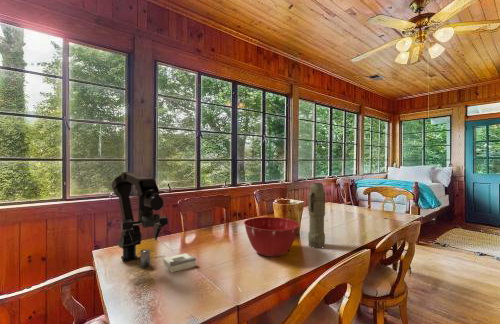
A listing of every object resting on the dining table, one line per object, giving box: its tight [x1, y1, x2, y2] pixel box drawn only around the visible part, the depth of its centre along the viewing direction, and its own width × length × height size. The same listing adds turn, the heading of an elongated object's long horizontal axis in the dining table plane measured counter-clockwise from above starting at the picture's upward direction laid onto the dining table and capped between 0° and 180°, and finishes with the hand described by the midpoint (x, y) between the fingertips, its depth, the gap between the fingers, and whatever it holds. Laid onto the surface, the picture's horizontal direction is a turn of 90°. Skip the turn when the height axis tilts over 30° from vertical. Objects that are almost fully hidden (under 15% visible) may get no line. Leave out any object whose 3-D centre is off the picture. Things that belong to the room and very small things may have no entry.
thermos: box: [307, 182, 326, 249], centre depth 143 cm, size 9×12×35 cm
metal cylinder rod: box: [140, 248, 151, 269], centre depth 114 cm, size 4×4×7 cm
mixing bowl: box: [243, 216, 300, 258], centre depth 133 cm, size 28×28×16 cm
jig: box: [162, 252, 197, 273], centre depth 116 cm, size 11×11×4 cm
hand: (144, 241), depth 113 cm, fingers open, 9 cm apart
